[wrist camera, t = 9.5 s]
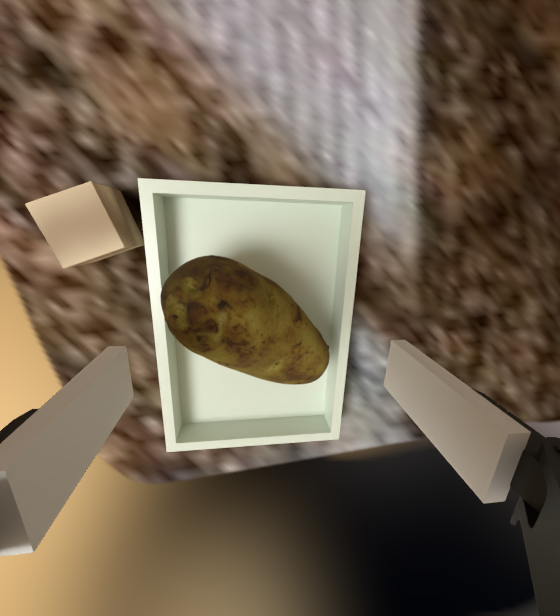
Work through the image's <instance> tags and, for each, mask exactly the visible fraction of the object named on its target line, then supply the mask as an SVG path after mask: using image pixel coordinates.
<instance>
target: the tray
mask: <svg viewBox="0 0 560 616" xmlns="http://www.w3.org/2000/svg"><path fill="white" fill-rule="evenodd" d="M138 187H139V196H140V206H141V215H142V224H143V234H144V243H145V252H146V262H147V271H148V281H149V290H150V299H151V309H152V318H153V327H154V337H155V346H156V355H157V365H158V374H159V383H160V393H161V402H162V412H163V421H164V430H165V440H166V449H167V452H173V451H187V450H200V449H214V448H227V447H240V446H254V445H267V444H280V443H294V442H307V441H321V440H334V439H339V433H340V424H341V415H342V405H343V396H344V387H345V378H346V368H347V359H348V350H349V341H350V331H351V322H352V313H353V304H354V294H355V285H356V276H357V267H358V257H359V248H360V239H361V229H362V220H363V211H364V202H365V192H366V190H351V189H332V188H313V187H294V186H275V185H256V184H237V183H218V182H199V181H180V180H161V179H142V178H138ZM210 255H214V256H222V257H226V258H230V259H233V260H235V261H238V262H240V263H242V264H244V265H245V266H247V267H248V268H250V269H252V270H254V271H256V272H257V273H259V274H261V275H263V276H265V277H267V278H269V279H271V280H272V281H274V282H275V283H277V284H278V285H279V286H280V287H281V288H283V289H284V290H285V291H286V292H287V293H288V294H289V295H290V296H291V297H292V298H293V299H294V301H295V302H296V303H297V304H298V305H299V306H300V307H301V309H302V310H304V312H305V314H306V315H307V316H308V318H309V319H310V320H311V322H312V323H313V325H314V326H315V327H316V328H317V329H318V330H319V331H320V333H321V334H322V337H323V339H324V340H325V342H326V344H327V345H328V346H329V363H328V366H327V369H326V370H325V372H324V373H323V375H322V376H321V377H320V378H319V379H317V380H316V381H314V382H312V383H308V384H298V385H291V384H281V383H275V382H270V381H266V380H263V379H259V378H256V377H253V376H250V375H247V374H244V373H242V372H239V371H236V370H233V369H230V368H227V367H224V366H222V365H219V364H217V363H215V362H213V361H211V360H209V359H206V358H205V357H203V356H200V355H198V354H195V353H193V352H191V351H190V350H188V349H187V348H185V347H184V346H183V345H182V344H181V343H180V342H179V341H178V340H177V339H176V338H175V337H174V336H173V335H172V333H171V332H170V330H169V329H168V326H167V323H166V321H165V319H164V318H165V317H164V314H163V311H162V307H161V298H160V295H161V291H162V287H163V285H164V283H165V281H166V280H167V278H168V277H169V276H170V275H171V274H172V273H173V272H174V271H175V270H176V269H177V268H179V267H180V266H181V265H183V264H184V263H186V262H187V261H190V260H192V259H195V258H197V257H202V256H210Z"/></svg>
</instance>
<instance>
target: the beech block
mask: <svg viewBox="0 0 560 616" xmlns="http://www.w3.org/2000/svg"><path fill="white" fill-rule="evenodd" d="M25 205H26V206H27V208H28V210H29V211H30V213H31V215H32V216H33V218H34V220H35V221H36V223H37V225H38V227H39V228H40V230H41V232H42V233H43V235H44V237H45V238H46V240H47V242H48V243H49V245H50V247H51V248H52V250H53V252H54V253H55V255H56V257H57V258H58V260H59V262H60V264H61V265H62V267H63V269H64V268H69V267H73V266H78V265H83V264H88V263H92V262H97V261H100V260H102V259H105V258H108V257H111V256H114V255H117V254H120V253H122V252H125V251H128V250H131V249H134V248H137V247H140V246H142V245H145V243H144V239H143V237H142V235H141V233H140V231H139V229H138V227H137V224H136V222H135V220H134V218H133V216H132V214H131V212H130V210H129V208H128V206H127V204H126V202H125V200H124V197H123V195H122V193H121V191H120V190H116V189H113V188H110V187H107V186H104V185H101V184H98V183H95V182H92V181H90V182H87V183H84V184H81V185H79V186H76V187H73V188H70V189H67V190H64V191H61V192H58V193H55V194H52V195H49V196H46V197H43V198H40V199H37V200H34V201H31V202H29V203H26V204H25Z"/></svg>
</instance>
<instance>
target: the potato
mask: <svg viewBox="0 0 560 616" xmlns="http://www.w3.org/2000/svg"><path fill="white" fill-rule="evenodd" d="M160 298H161V307H162V311H163V314H164V317H165V318H164V319H165V321H166V323H167V326H168V329H169V330H170V332H171V333H172V335H173V336H174V337H175V338H176V339H177V340H178V341H179V342H180V343H181V344H182V345H183V346H184V347H185V348H187V349H188V350H190V351H191V352H193V353H195V354H198V355H200V356H203V357H205V358H206V359H209V360H211V361H213V362H215V363H217V364H219V365H222V366H224V367H227V368H230V369H233V370H236V371H239V372H242V373H244V374H247V375H250V376H253V377H256V378H259V379H263V380H266V381H270V382H275V383H281V384H291V385H298V384H308V383H312V382H314V381H316V380H317V379H319V378H320V377H321V376H322V375H323V373H324V372H325V370H326V369H327V366H328V363H329V346H328V345H327V344H326V342H325V340H324V339H323V337H322V334H321V333H320V331H319V330H318V329H317V328H316V327H315V326H314V325H313V323H312V322H311V320H310V319H309V318H308V316H307V315H306V314H305V312H304V310H302V309H301V307H300V306H299V305H298V304H297V303H296V302H295V301H294V299H293V298H292V297H291V296H290V295H289V294H288V293H287V292H286V291H285V290H284V289H283V288H281V287H280V286H279V285H278V284H277V283H275V282H274V281H272V280H271V279H269V278H267V277H265V276H263V275H261V274H259V273H257V272H256V271H254V270H252V269H250V268H248V267H247V266H245V265H244V264H242V263H240V262H238V261H235V260H233V259H230V258H226V257H222V256H214V255H210V256H202V257H197V258H195V259H192V260H190V261H187V262H186V263H184V264H183V265H181V266H180V267H179V268H177V269H176V270H175V271H174V272H173V273H172V274H171V275H170V276H169V277H168V278H167V280H166V281H165V283H164V285H163V287H162V291H161V295H160Z"/></svg>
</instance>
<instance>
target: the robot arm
mask: <svg viewBox="0 0 560 616" xmlns="http://www.w3.org/2000/svg"><path fill="white" fill-rule="evenodd" d="M384 387H385V388H386V389H387V390H388V391H389V392H390V394H391V395H392V396H393V397H394V398H395V400H396V401H397V402H398V403H399V404H400V405H401V407H402V408H403V409H404V410H405V411H406V412H407V414H408V415H409V416H410V417H411V418H412V420H413V421H414V422H415V423H416V424H417V425H418V427H419V428H420V429H421V430H422V431H423V432H424V434H425V435H426V436H427V437H428V438H429V440H430V441H431V442H432V443H433V444H434V445H435V447H436V448H437V449H438V450H439V451H440V452H441V454H442V455H443V456H444V457H445V458H446V460H447V461H448V462H449V463H450V464H451V465H452V467H453V468H454V469H455V470H456V471H457V472H458V474H459V475H460V476H461V477H462V478H463V480H465V482H466V483H467V484H468V485H469V487H470V488H471V489H472V490H473V491H474V492H475V494H476V495H477V496H478V497H479V498H480V499H481V501H482V502H483V503H491V502H501V501H505V499H506V497H507V494H508V491H509V488H510V486H511V487H512V488H513V489H514V490H515V491H516V492H517V493H518V494H519V495H520V498H519V500H518V503H517V505H516V508H515V510H514V513H513V516H512V518H511V524H513V525H515V524H516V522H517V520H519V519H520V521H521V526H522V531H523V536H524V541H525V546H526V551H527V557H528V561H529V566H530V572H531V577H532V581H533V587H534V592H535V597H536V602H537V607H538V612H539V616H560V438H556V437H547V438H545V437H544V436H542V435H541V434H539V433H538V432H536V431H535V430H534V429H532V428H531V427H530V426H528V425H527V424H526V423H524V422H523V421H521V420H520V419H519V418H517V417H516V416H514V415H513V414H512V413H510V412H507V410H506V409H505V408H503V407H502V406H500V405H497V403H496V402H495V401H493V400H492V399H491V398H489V397H488V396H486V395H485V394H483V393H481V392H479V391H477V390H475V389H473V388H471V387H469V386H467V385H466V384H465V383H463V382H462V381H460V380H459V379H458V378H456V377H455V376H454V375H452V374H451V373H450V372H448V371H447V370H445V369H444V368H443V367H441V366H440V365H439V364H437V363H436V362H435V361H433V360H432V359H430V358H429V357H428V356H426V355H425V354H424V353H422V352H421V351H420V350H418V349H417V348H415V347H414V346H413V345H411V344H410V343H409V342H407V341H406V340H391V345H390V351H389V357H388V363H387V369H386V374H385V380H384ZM133 397H134V395H133V388H132V382H131V375H130V369H129V362H128V356H127V349H126V346H108V347H107V348H106V349H105V350H104V351H103V352H102V353H101V354H99V355H98V356H97V357H96V358H95V359H94V360H93V361H92V362H91V363H89V364H88V365H87V366H86V367H85V368H84V369H83V370H82V371H81V372H79V373H78V374H77V375H76V376H75V377H74V378H73V379H72V380H71V381H69V382H68V383H67V384H66V385H65V386H64V387H63V388H62V389H61V390H59V391H58V392H57V393H56V394H55V395H54V396H53V397H52V398H51V399H50V400H48V401H47V402H46V403H45V404H44V405H43V406H42V407H41V408H39V409H32V410H30V411H28V412H26V413H25V414H23V415H21V416H19V417H18V418H16V419H14V420H13V421H12V422H10V423H9V424H8V425H7V426H6V427H4V428H3V429H2V430H1V431H0V555H1V556H5V555H15V554H24V553H33V552H34V551H35V550H36V548H37V547H38V545H39V543H40V542H41V540H42V539H43V537H44V536H45V534H46V533H47V531H48V529H49V528H50V526H51V525H52V523H53V522H54V520H55V518H56V517H57V515H58V514H59V512H60V511H61V509H62V508H63V506H64V505H65V503H66V501H67V500H68V498H69V496H70V495H71V494H72V492H73V491H74V489H75V487H76V486H77V484H78V483H79V481H80V480H81V478H82V477H83V475H84V473H85V472H86V470H87V469H88V467H89V466H90V464H91V463H92V461H93V459H94V458H95V456H96V455H97V453H98V452H99V450H100V449H101V447H102V445H103V444H104V442H105V441H106V439H107V438H108V436H109V435H110V433H111V431H112V430H113V428H114V427H115V425H116V424H117V422H118V421H119V419H120V417H121V416H122V414H123V413H124V411H125V410H126V408H127V407H128V405H129V403H130V402H131V400H132V399H133Z"/></svg>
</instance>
